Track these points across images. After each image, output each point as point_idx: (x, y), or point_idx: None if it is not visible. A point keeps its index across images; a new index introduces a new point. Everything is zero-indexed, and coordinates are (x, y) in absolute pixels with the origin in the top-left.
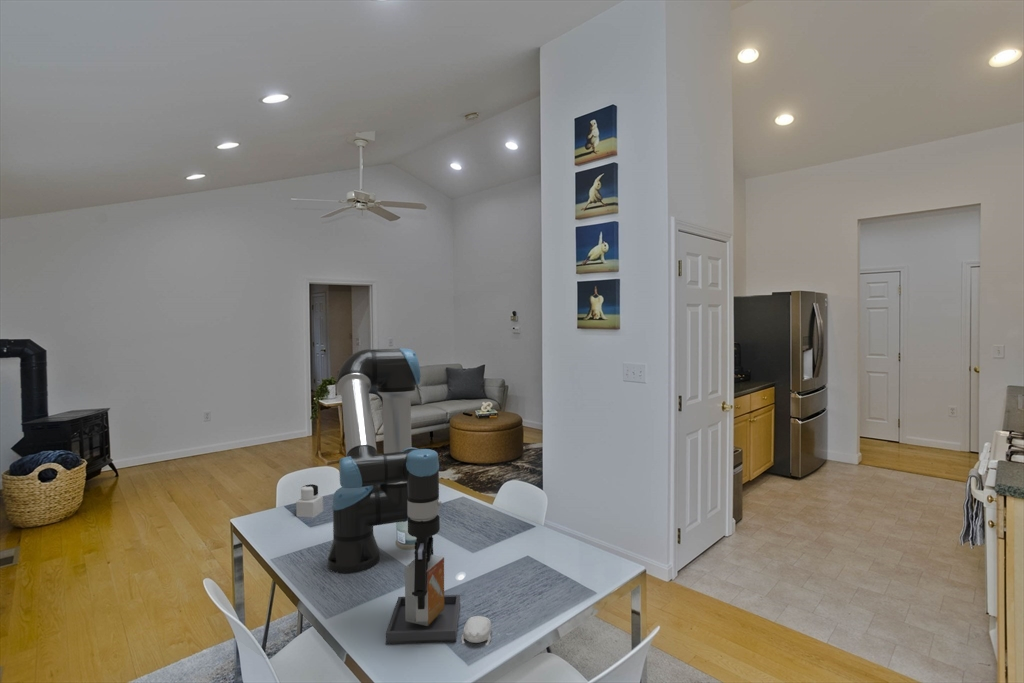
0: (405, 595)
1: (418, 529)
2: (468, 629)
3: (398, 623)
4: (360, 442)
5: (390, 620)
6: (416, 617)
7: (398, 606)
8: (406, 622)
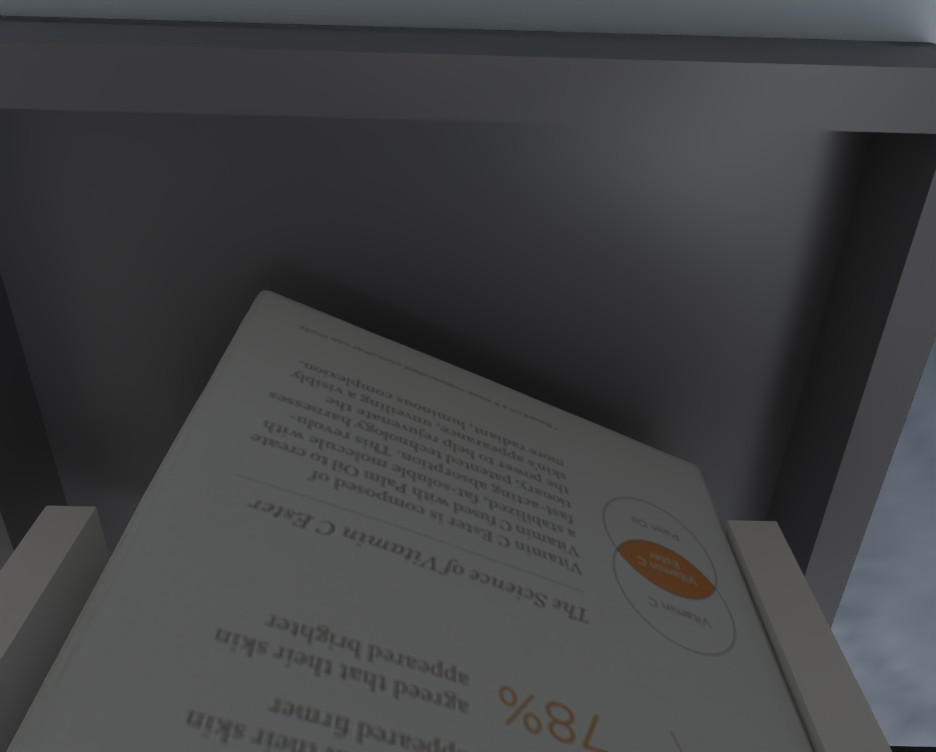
0: (96, 592)
1: None
2: None
3: (364, 139)
4: None
5: (188, 52)
6: (21, 556)
7: (666, 125)
8: (388, 252)
